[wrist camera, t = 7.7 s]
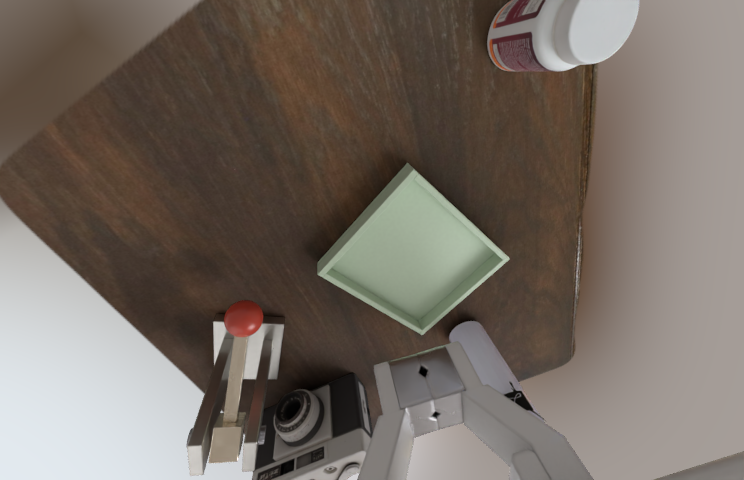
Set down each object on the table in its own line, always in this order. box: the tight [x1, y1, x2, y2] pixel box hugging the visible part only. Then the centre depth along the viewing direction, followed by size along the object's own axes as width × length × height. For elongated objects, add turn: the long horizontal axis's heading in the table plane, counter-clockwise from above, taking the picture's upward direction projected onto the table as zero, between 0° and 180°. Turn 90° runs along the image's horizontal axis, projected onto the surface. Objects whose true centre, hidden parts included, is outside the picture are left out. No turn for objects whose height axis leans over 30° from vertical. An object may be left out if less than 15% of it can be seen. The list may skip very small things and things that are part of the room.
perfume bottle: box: [449, 321, 545, 423], centre depth 30 cm, size 6×6×20 cm
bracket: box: [187, 314, 285, 476], centre depth 29 cm, size 9×7×12 cm
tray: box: [317, 163, 510, 335], centre depth 31 cm, size 15×13×2 cm
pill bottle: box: [487, 0, 639, 71], centre depth 20 cm, size 5×5×8 cm
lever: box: [209, 300, 263, 463], centre depth 26 cm, size 13×3×3 cm
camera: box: [252, 373, 373, 480], centre depth 36 cm, size 14×8×10 cm, turn 112°
